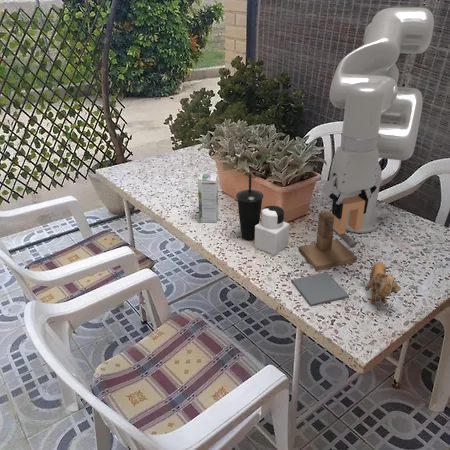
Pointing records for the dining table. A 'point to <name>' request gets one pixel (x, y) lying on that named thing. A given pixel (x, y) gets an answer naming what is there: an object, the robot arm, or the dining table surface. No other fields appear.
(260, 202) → the drinking cup
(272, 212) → the medicine bottle
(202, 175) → the syrup box
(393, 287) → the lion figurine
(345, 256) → the stand
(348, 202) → the c link
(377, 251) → the dining table surface
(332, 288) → the slate mat
